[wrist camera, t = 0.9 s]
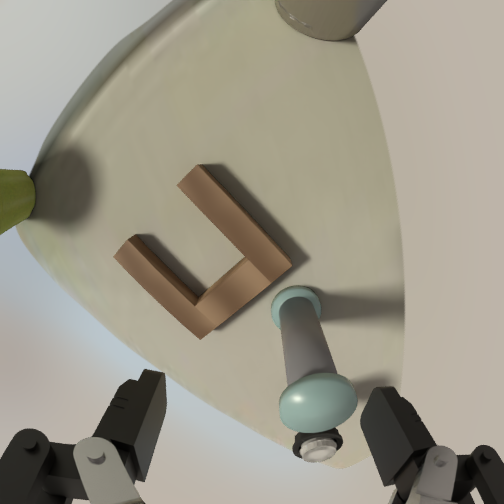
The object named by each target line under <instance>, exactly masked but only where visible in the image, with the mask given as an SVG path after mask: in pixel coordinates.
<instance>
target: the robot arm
mask: <svg viewBox="0 0 504 504" xmlns="http://www.w3.org/2000/svg"><path fill="white" fill-rule="evenodd" d="M386 1H387V0H275V5H276V7H277V10H278V12H279V14H280V15H281V17H282V18H283V19H284V20H285V21H286V22H287V23H288V24H289V25H290V26H291V27H293V28H294V29H296V30H297V31H299V32H301V33H303V34H305V35H308V36H310V37H313V38H317V39H322V40H342V39H346V38H349V37H352V36H354V35H355V34H357V33H358V32H359V31H360V30H361V28H362V27H363V26H364V25H365V24H366V23H367V22H368V21H369V20H370V18H371V17H372V16H373V15H374V14H375V13H376V12H377V11H378V10H379V9H380V8H381V7H382V5H383V4H384V3H385V2H386ZM166 406H167V398H166V380H165V373H163V372H158V371H152V370H147V369H144V370H143V372H142V374H141V376H140V378H139V380H138V381H136V380H131V379H129V380H127V381H126V382H125V383H123V384H122V385H121V386H119V388H118V390H117V392H116V394H115V396H114V398H113V399H112V401H111V403H110V406H108V408H107V410H106V412H105V414H104V416H103V417H102V419H101V421H100V423H99V425H98V427H97V429H96V430H95V433H94V434H93V436H92V437H90V438H85V439H83V440H81V441H80V442H78V443H77V444H74V445H72V444H62V443H55V442H49V440H48V438H47V437H46V436H45V435H44V434H43V433H42V432H40V431H38V430H36V429H23V430H21V431H19V432H18V433H17V434H15V436H14V437H13V439H12V440H11V442H10V444H9V445H8V447H7V448H6V450H5V452H4V453H3V455H2V457H1V459H0V504H72V501H73V498H74V499H83V500H89V501H90V503H91V504H145V503H144V502H143V500H142V499H141V497H140V495H139V493H138V492H137V490H136V488H135V486H134V484H135V480H138V481H142V482H145V479H146V476H147V473H148V469H149V466H150V463H151V459H152V456H153V453H154V449H155V446H156V443H157V439H158V436H159V433H160V430H161V427H162V424H163V420H164V417H165V414H166ZM360 424H361V428H362V431H363V433H364V436H365V438H366V441H367V443H368V446H369V448H370V451H371V454H372V456H373V458H374V461H375V464H376V466H377V469H378V472H379V474H380V477H381V480H382V482H383V485H384V486H389V485H394V484H395V485H396V489H395V490H394V492H393V494H392V496H391V498H390V501H389V503H388V504H475V503H474V501H473V498H472V496H471V494H470V492H471V491H472V490H473V489H474V488H475V487H476V488H477V489H478V492H479V494H480V496H481V498H482V500H483V502H484V504H504V463H503V462H502V460H501V458H500V457H499V455H498V454H497V452H496V451H495V450H494V449H493V448H492V447H490V446H487V445H480V446H478V447H476V449H475V450H474V451H473V452H472V453H471V454H470V455H456V454H455V453H454V451H452V450H451V449H450V448H448V447H445V446H437V445H436V443H435V441H434V440H433V438H432V436H431V435H430V433H429V431H428V430H427V428H426V427H425V425H424V423H423V422H421V418H420V417H419V415H417V412H416V410H415V409H414V407H413V406H412V404H411V403H409V402H408V401H407V400H406V399H405V398H403V397H400V395H399V394H398V392H397V390H396V389H395V388H394V387H393V386H388V387H376V388H374V390H373V391H372V393H371V395H370V398H369V400H368V402H367V404H366V406H365V408H364V410H363V412H362V414H361V419H360Z"/></svg>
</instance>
